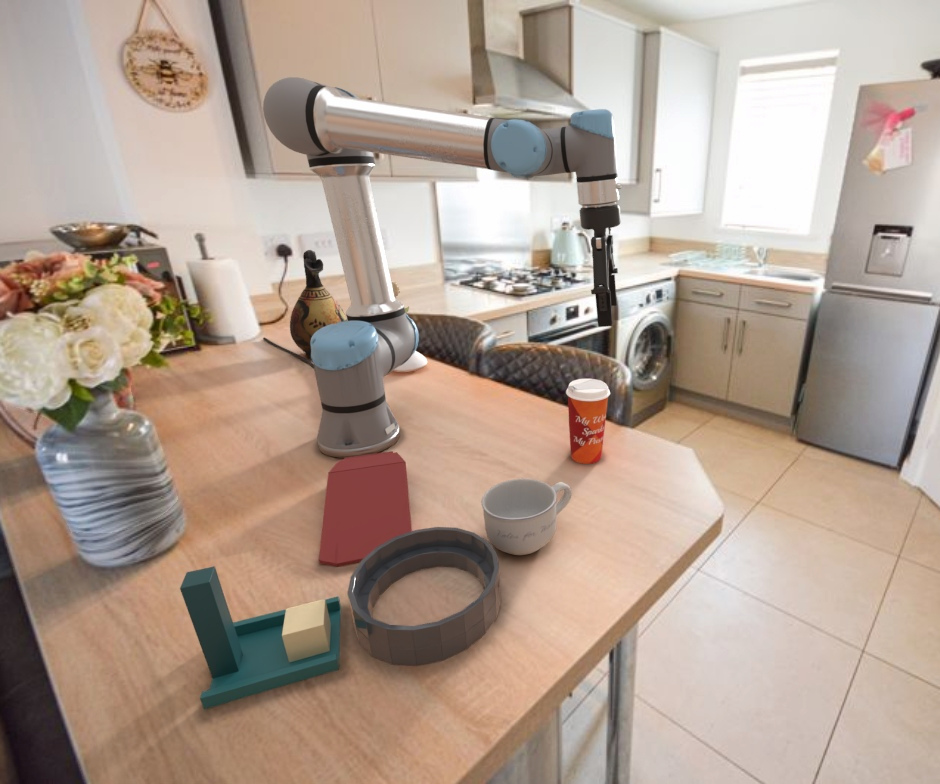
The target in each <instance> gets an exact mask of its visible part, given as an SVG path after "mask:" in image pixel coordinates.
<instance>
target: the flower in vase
mask: <svg viewBox="0 0 940 784" xmlns="http://www.w3.org/2000/svg"><path fill="white" fill-rule="evenodd" d="M391 282H392V287H393V292H394V297H395V299H397V297H398V296H399V294H400V292H401V291H400V287H399V286H398V284H397V282H396V281H391ZM404 308H405V313H406V314H407V313H408V312H409V309H410V306H407V307H404ZM428 362H429V361H428V359H427V357H426V356H424V355H423V354H422V353H420V352H419V351H417V350H416V351H415V352H414V354H413V355H412V356H411V357H410V358H409V360H408V361H407V362H405V363H404V364H402V365H401V366H398V367H397V368H396V369H394V370H393V371H392V372H395V373H411V372H415V371H418V370H421V369H424V368H425V367H426V366H427V364H428Z"/></svg>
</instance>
